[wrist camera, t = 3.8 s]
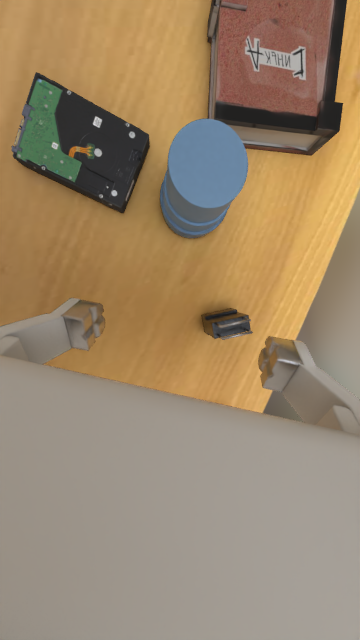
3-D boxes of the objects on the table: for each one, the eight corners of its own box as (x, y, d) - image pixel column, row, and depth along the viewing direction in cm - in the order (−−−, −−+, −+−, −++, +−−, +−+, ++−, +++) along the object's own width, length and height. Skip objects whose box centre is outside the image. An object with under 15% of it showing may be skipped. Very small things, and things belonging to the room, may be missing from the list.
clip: (204, 332, 35) (219, 345, 26) (201, 314, 34) (215, 322, 26) (234, 325, 35) (257, 336, 27) (231, 308, 34) (254, 313, 26)
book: (211, -83, 27) (223, -167, 22) (334, -54, 29) (371, -126, 24) (201, 143, 30) (210, 115, 25) (311, 155, 32) (339, 131, 27)
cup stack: (151, 226, 31) (148, 193, 20) (171, 162, 30) (179, 91, 20) (209, 249, 33) (235, 229, 22) (230, 188, 32) (268, 135, 21)
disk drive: (150, 146, 30) (45, 90, 27) (150, 132, 27) (33, 68, 25) (125, 215, 31) (21, 167, 28) (122, 208, 28) (7, 154, 26)
